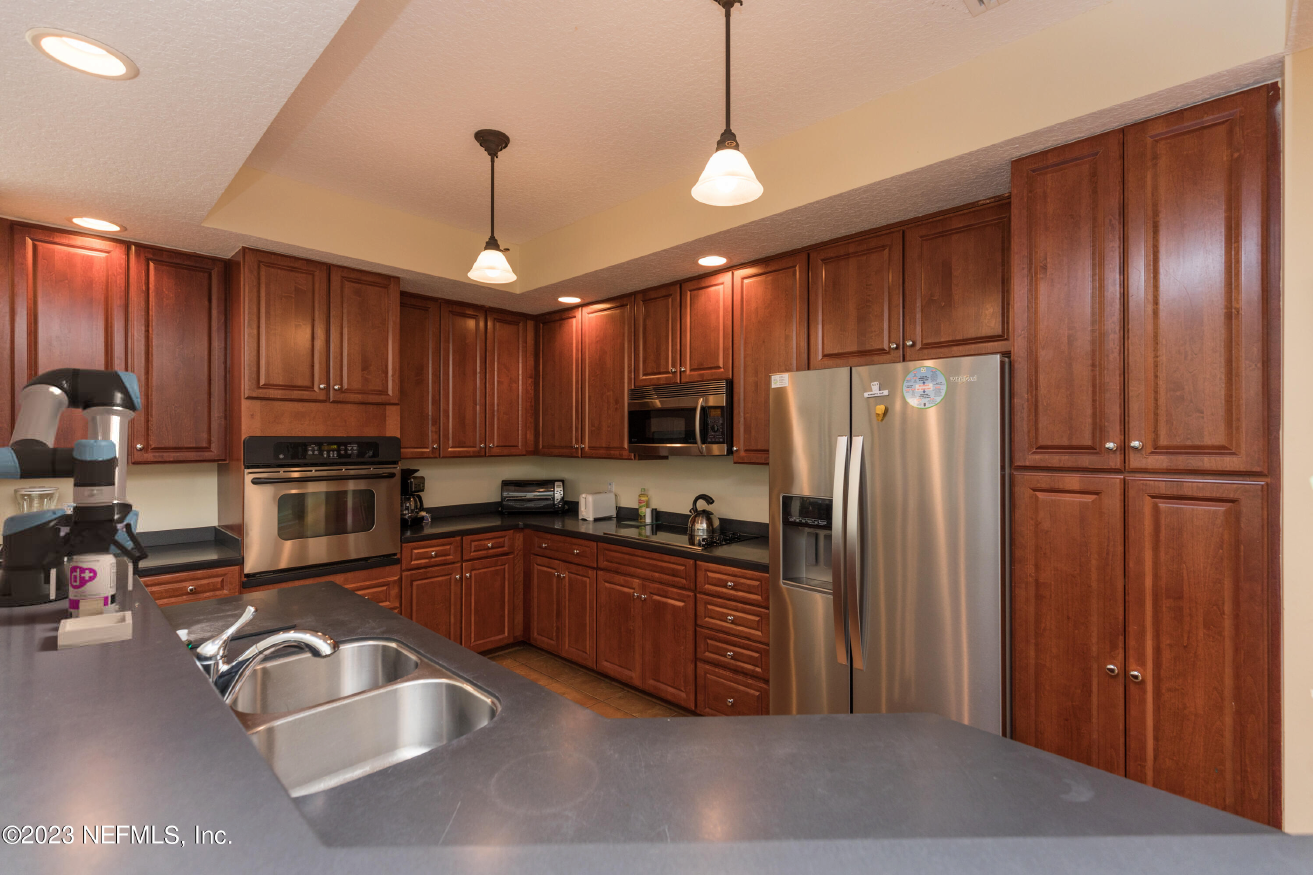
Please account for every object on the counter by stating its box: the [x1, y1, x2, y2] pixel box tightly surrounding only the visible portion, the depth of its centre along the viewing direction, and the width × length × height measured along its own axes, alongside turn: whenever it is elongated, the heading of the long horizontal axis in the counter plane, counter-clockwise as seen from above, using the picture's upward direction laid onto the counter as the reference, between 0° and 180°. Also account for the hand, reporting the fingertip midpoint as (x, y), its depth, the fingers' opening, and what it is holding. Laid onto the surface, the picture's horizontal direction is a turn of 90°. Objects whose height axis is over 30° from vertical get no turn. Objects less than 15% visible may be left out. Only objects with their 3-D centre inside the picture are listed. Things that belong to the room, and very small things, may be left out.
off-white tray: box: [57, 610, 133, 651], centre depth 134 cm, size 12×12×4 cm
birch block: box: [79, 598, 104, 618], centre depth 141 cm, size 4×4×6 cm
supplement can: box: [68, 552, 117, 619], centre depth 148 cm, size 8×8×15 cm
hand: (92, 593), depth 147 cm, fingers open, 13 cm apart
